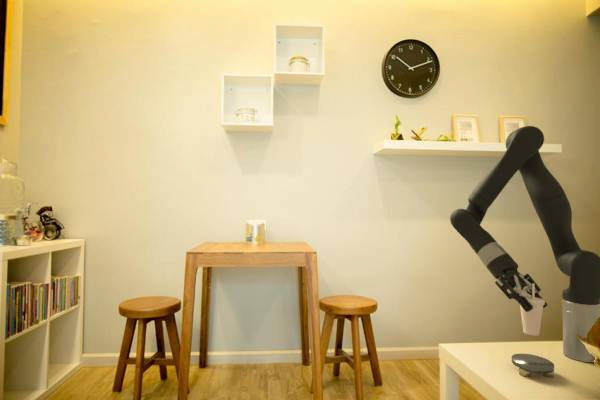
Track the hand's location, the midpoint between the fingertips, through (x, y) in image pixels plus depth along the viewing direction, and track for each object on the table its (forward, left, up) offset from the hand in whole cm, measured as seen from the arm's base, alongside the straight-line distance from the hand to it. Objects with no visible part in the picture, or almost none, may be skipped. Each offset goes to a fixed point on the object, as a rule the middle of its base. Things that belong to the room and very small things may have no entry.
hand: (537, 308), depth 98 cm
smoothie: (-1, -2, -8) cm, 8 cm away
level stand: (-1, -1, -18) cm, 18 cm away
